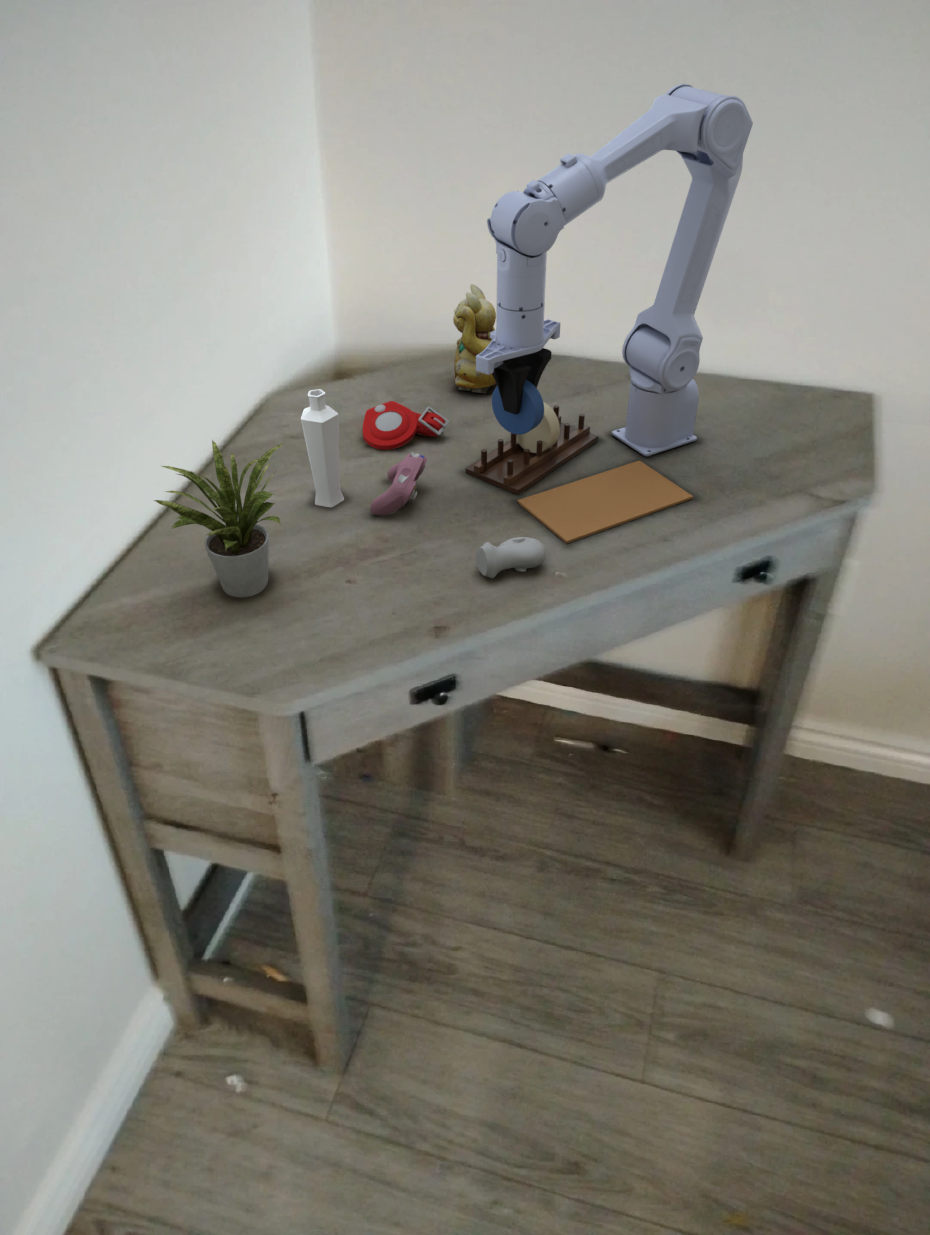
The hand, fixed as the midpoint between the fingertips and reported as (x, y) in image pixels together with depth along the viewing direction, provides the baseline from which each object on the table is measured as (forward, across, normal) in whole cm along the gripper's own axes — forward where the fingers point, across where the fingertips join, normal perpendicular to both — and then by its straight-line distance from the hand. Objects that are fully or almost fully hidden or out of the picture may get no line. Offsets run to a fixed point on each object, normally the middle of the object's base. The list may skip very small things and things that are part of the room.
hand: (517, 408), depth 119 cm
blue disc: (0, 0, 0) cm, 0 cm away
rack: (+10, -6, -2) cm, 12 cm away
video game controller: (+10, +14, -8) cm, 19 cm away
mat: (+10, -3, +13) cm, 16 cm away
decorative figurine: (+2, -19, -22) cm, 29 cm away
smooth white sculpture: (+10, +17, +12) cm, 23 cm away
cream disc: (+6, -6, -2) cm, 8 cm away
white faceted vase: (+10, +20, -16) cm, 27 cm away
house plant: (+10, +38, -10) cm, 40 cm away
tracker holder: (+10, +1, -20) cm, 22 cm away
